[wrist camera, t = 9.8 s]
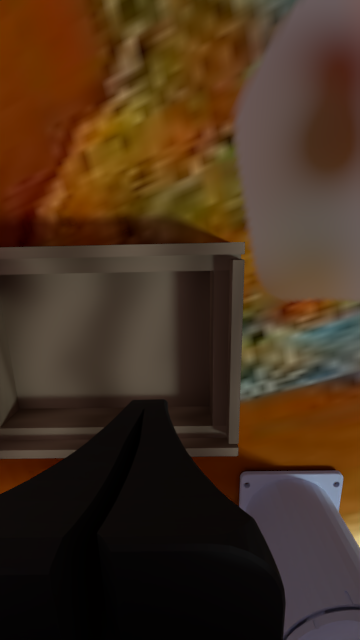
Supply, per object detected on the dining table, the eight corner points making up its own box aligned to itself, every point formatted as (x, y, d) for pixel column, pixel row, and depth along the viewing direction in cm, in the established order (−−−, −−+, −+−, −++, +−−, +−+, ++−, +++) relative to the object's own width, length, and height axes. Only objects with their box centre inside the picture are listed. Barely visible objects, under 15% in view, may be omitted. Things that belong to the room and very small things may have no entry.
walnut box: (232, 243, 19) (244, 242, 15) (228, 419, 22) (238, 456, 18) (-25, 248, 19) (-78, 249, 15) (7, 422, 22) (-30, 459, 18)
